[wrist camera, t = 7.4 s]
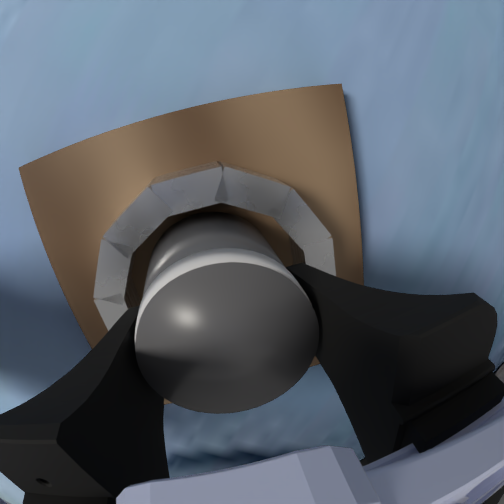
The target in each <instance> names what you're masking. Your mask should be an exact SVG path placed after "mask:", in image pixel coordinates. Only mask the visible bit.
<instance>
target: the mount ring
mask: <svg viewBox="0 0 504 504" xmlns="http://www.w3.org/2000/svg"><path fill="white" fill-rule="evenodd" d="M218 203H225V204H229V205H232V206H236V207H240V208H243V209H247V210H250V211H254V212H257V213H261V214H264V215H268V216H271V217H273V218H274V220H275V221H276V222H277V223H278V224H279V225H280V226H281V227H282V228H283V230H284V231H285V232H286V233H287V234H288V235H289V241H290V247H291V253H292V259H293V265H295V264H299V263H304V264H307V265H309V266H312V267H314V268H317V269H319V270H321V271H324V272H326V273H329V274H331V275H334V276H336V270H335V259H334V249H333V239H332V237H331V234H330V233H329V232H328V230H327V229H326V228H325V227H324V225H323V224H322V223H321V222H320V220H319V219H318V218H317V217H316V215H315V214H314V213H313V212H312V211H311V209H310V208H309V207H308V206H307V204H306V203H305V202H304V201H303V200H302V198H301V197H300V196H299V195H298V194H297V192H296V191H295V190H294V189H293V188H291V187H290V186H288V185H287V184H285V183H283V182H281V181H280V180H278V179H276V178H273V177H270V176H267V175H264V174H260V173H257V172H254V171H251V170H248V169H244V168H241V167H238V166H234V165H231V164H228V163H224V162H221V161H219V163H218V162H217V161H214V162H210V163H206V164H202V165H198V166H194V167H190V168H186V169H183V170H179V171H175V172H171V173H168V174H164V175H161V176H157V177H156V178H155V179H153V180H152V181H151V182H150V183H149V184H148V185H147V186H146V187H145V188H144V189H143V190H142V191H141V192H140V193H139V194H138V195H137V196H136V197H135V199H134V200H133V201H132V202H131V203H130V204H129V205H128V206H127V207H126V208H125V209H124V210H123V212H122V213H121V214H120V215H119V216H118V217H117V218H116V219H115V220H114V222H113V223H112V224H111V226H110V227H109V228H108V230H107V231H106V233H105V234H104V235H103V238H102V239H101V244H100V251H99V257H98V264H97V272H96V279H95V288H94V297H93V298H95V299H94V302H95V304H96V306H97V308H98V311H99V313H100V315H101V317H102V319H103V321H104V323H105V325H106V327H107V329H108V331H109V330H110V329H111V327H112V326H113V325H114V324H115V323H116V322H117V320H118V319H119V318H120V317H121V316H122V315H123V314H124V313H125V312H126V311H127V310H128V309H129V308H132V307H136V306H140V304H141V300H140V298H139V296H138V293H137V290H136V288H135V285H134V283H133V280H132V278H131V274H132V269H133V264H134V259H135V254H136V249H137V248H138V247H139V246H140V245H141V244H142V243H143V242H144V241H145V240H146V239H147V238H148V236H149V235H150V234H151V233H152V232H153V231H154V230H155V229H156V228H157V227H158V226H159V225H160V224H161V223H162V222H163V221H164V220H165V219H166V218H167V217H169V216H172V215H176V214H180V213H183V212H187V211H191V210H195V209H199V208H202V207H206V206H210V205H214V204H218Z"/></svg>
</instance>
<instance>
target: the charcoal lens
mask: <svg viewBox="0 0 504 504" xmlns="http://www.w3.org/2000/svg"><path fill="white" fill-rule="evenodd" d="M318 342H319V325H318V319H317V316H316V314H315V311H314V309H313V307H312V304H311V302H310V300H309V298H308V296H307V294H306V293H305V291H304V290H303V289H302V287H301V286H300V284H299V283H298V282H297V280H296V279H295V278H294V276H293V275H292V274H291V273H290V272H289V271H288V270H287V269H286V267H285V266H284V265H283V263H282V262H281V260H280V259H279V257H278V256H277V255H276V253H275V252H274V250H273V249H272V247H271V246H270V245H269V243H268V242H267V240H266V239H265V238H264V236H263V235H262V234H261V233H260V231H259V230H258V229H257V228H256V227H255V226H253V225H252V224H251V223H249V222H248V221H246V220H244V219H242V218H241V217H238V216H235V215H233V214H229V213H224V212H203V213H197V214H194V215H191V216H188V217H186V218H183V219H181V220H179V221H178V222H176V223H175V224H173V225H172V226H171V227H170V228H168V229H167V230H166V231H165V232H164V233H163V235H162V236H161V237H160V238H159V240H158V241H157V243H156V245H155V247H154V249H153V251H152V254H151V257H150V262H149V266H148V271H147V277H146V282H145V287H144V292H143V298H142V301H141V304H140V307H139V311H138V316H137V322H136V328H135V352H136V359H137V363H138V366H139V369H140V371H141V373H142V375H143V377H144V378H145V380H146V381H147V383H148V384H149V385H150V386H151V387H152V388H153V389H154V390H155V391H156V392H157V393H158V394H159V395H161V396H162V397H164V398H165V399H167V400H168V401H170V402H172V403H174V404H176V405H178V406H181V407H183V408H186V409H189V410H193V411H197V412H204V413H216V414H220V413H234V412H240V411H245V410H249V409H252V408H255V407H258V406H261V405H263V404H266V403H268V402H270V401H272V400H274V399H276V398H277V397H279V396H281V395H282V394H284V393H285V392H286V391H288V390H289V389H290V388H291V387H293V386H294V385H295V384H296V383H297V382H298V381H299V380H300V379H301V377H302V376H303V375H304V374H305V373H306V371H307V370H308V368H309V366H310V365H311V363H312V361H313V359H314V357H315V354H316V351H317V348H318Z"/></svg>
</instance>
